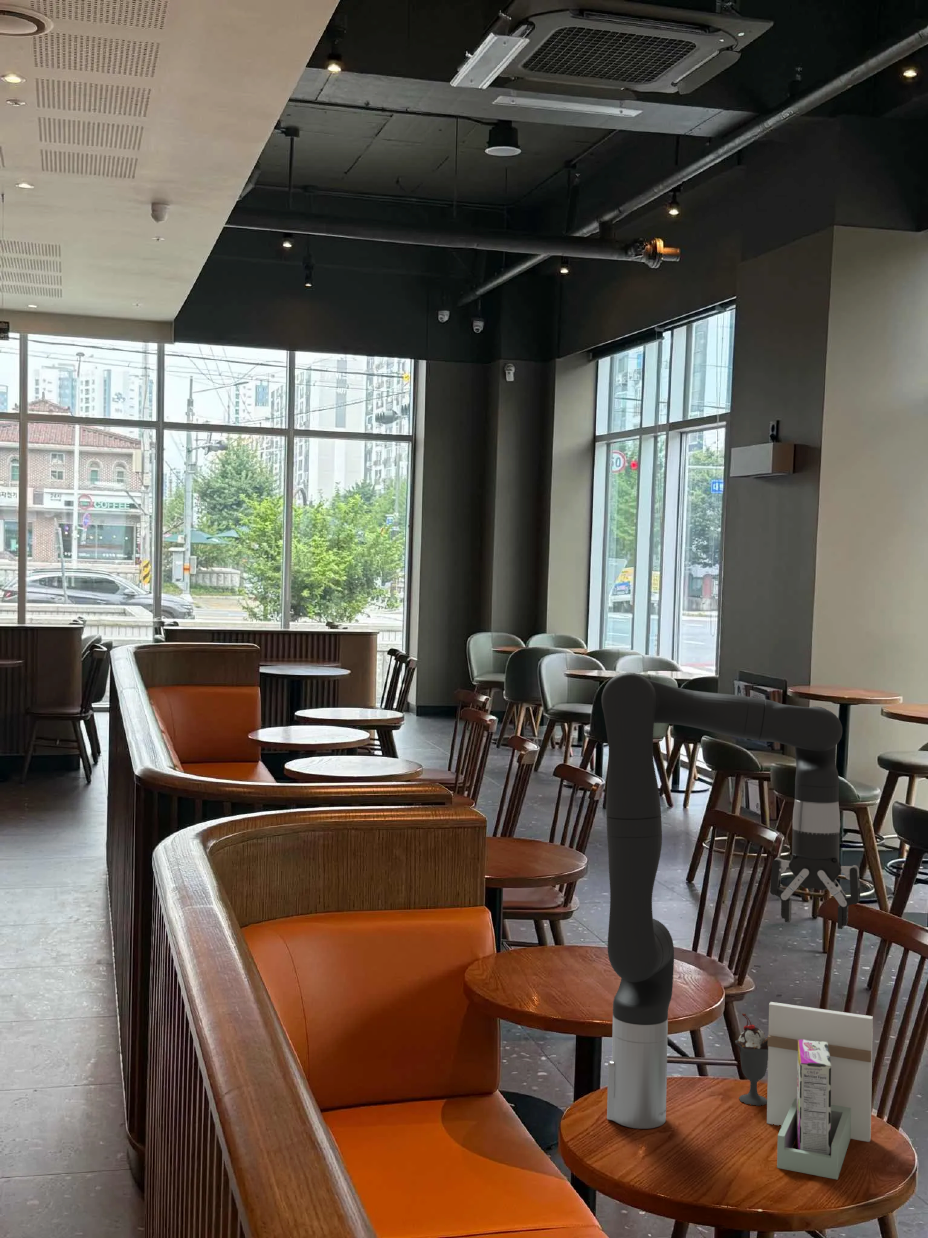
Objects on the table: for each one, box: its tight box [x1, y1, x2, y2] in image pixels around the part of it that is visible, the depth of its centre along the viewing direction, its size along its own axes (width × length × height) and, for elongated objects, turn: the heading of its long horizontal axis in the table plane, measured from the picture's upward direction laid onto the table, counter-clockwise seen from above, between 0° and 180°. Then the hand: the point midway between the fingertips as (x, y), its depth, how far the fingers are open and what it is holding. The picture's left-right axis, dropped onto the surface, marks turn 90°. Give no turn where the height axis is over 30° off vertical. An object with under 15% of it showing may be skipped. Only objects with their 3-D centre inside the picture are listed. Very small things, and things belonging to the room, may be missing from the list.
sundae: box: [734, 1013, 768, 1107], centre depth 215 cm, size 7×7×15 cm
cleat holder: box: [766, 1001, 874, 1181], centre depth 195 cm, size 16×18×20 cm
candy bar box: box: [796, 1039, 832, 1156], centre depth 193 cm, size 11×5×16 cm, turn 166°
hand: (814, 925), depth 203 cm, fingers open, 8 cm apart
